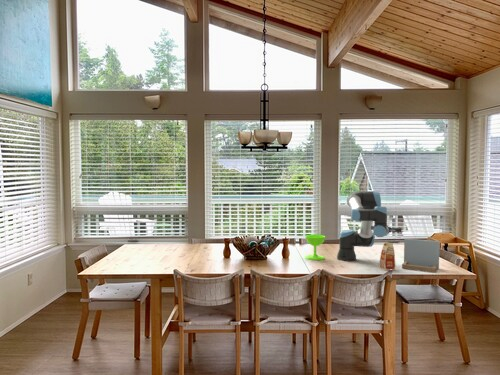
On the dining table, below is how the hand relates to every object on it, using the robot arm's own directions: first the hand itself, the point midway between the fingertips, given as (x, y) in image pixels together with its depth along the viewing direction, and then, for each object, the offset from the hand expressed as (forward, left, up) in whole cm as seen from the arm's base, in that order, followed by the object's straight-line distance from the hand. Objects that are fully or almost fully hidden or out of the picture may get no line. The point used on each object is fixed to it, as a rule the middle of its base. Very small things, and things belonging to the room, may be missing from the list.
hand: (387, 228), depth 275 cm
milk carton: (-6, +5, -31) cm, 32 cm away
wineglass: (-50, -33, -31) cm, 67 cm away
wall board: (-2, +29, -30) cm, 42 cm away
